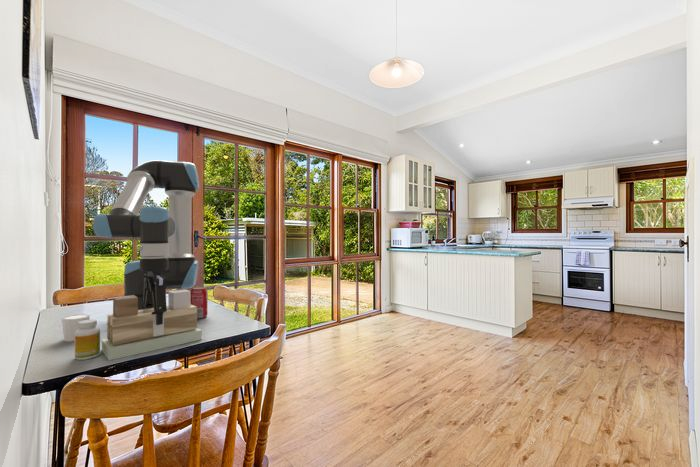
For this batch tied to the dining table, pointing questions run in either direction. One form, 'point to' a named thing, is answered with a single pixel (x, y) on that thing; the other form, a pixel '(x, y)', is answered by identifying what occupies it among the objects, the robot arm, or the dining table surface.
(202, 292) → the beverage can
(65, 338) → the white cup
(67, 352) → the dining table surface
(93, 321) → the supplement bottle
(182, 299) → the white cube
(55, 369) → the dining table surface
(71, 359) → the dining table surface
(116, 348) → the block
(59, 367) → the dining table surface
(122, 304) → the brown wooden cube
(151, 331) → the wooden block
